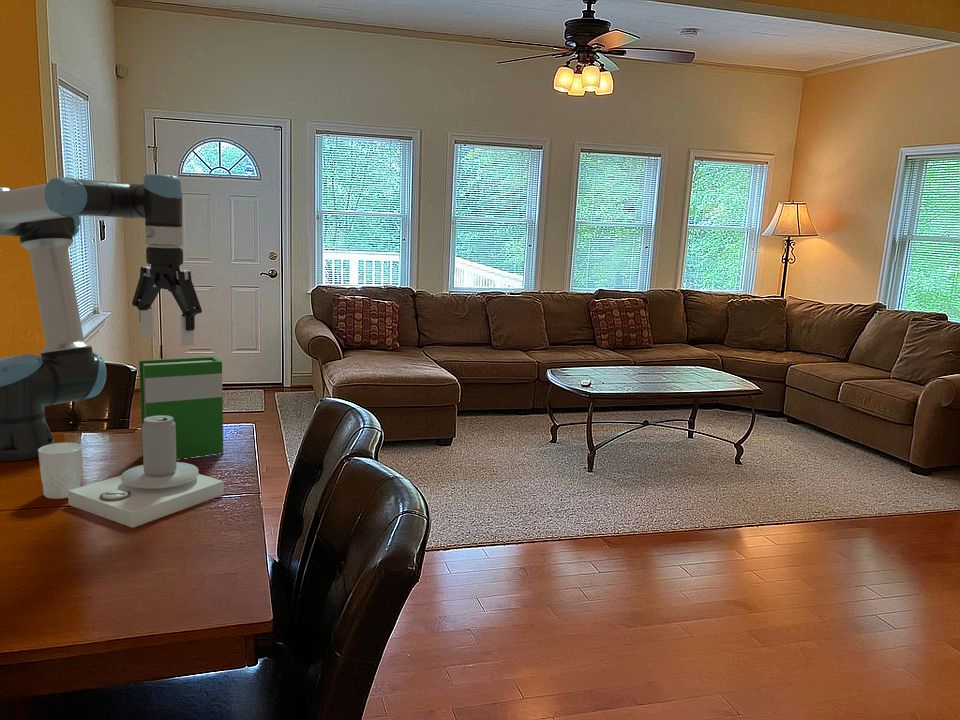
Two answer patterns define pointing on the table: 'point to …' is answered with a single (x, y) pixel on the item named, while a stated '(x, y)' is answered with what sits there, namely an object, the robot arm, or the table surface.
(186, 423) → the hardback book
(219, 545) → the table surface
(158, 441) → the beverage can
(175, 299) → the robot arm
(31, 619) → the table surface
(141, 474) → the kitchen scale
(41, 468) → the white cup
